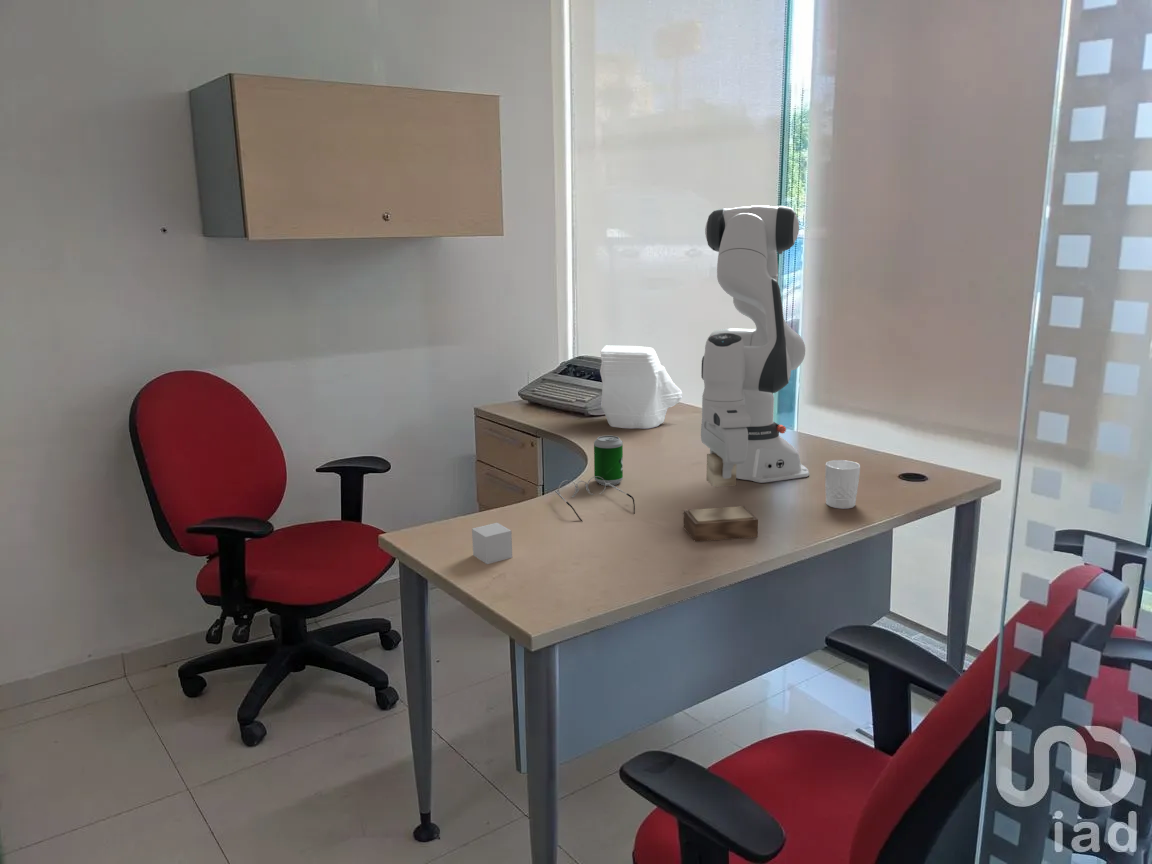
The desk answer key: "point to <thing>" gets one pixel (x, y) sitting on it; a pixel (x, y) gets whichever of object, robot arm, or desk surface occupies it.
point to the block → (718, 472)
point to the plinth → (720, 523)
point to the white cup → (841, 483)
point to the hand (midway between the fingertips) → (721, 473)
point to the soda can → (608, 460)
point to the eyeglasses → (589, 493)
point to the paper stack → (635, 387)
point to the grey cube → (492, 543)
